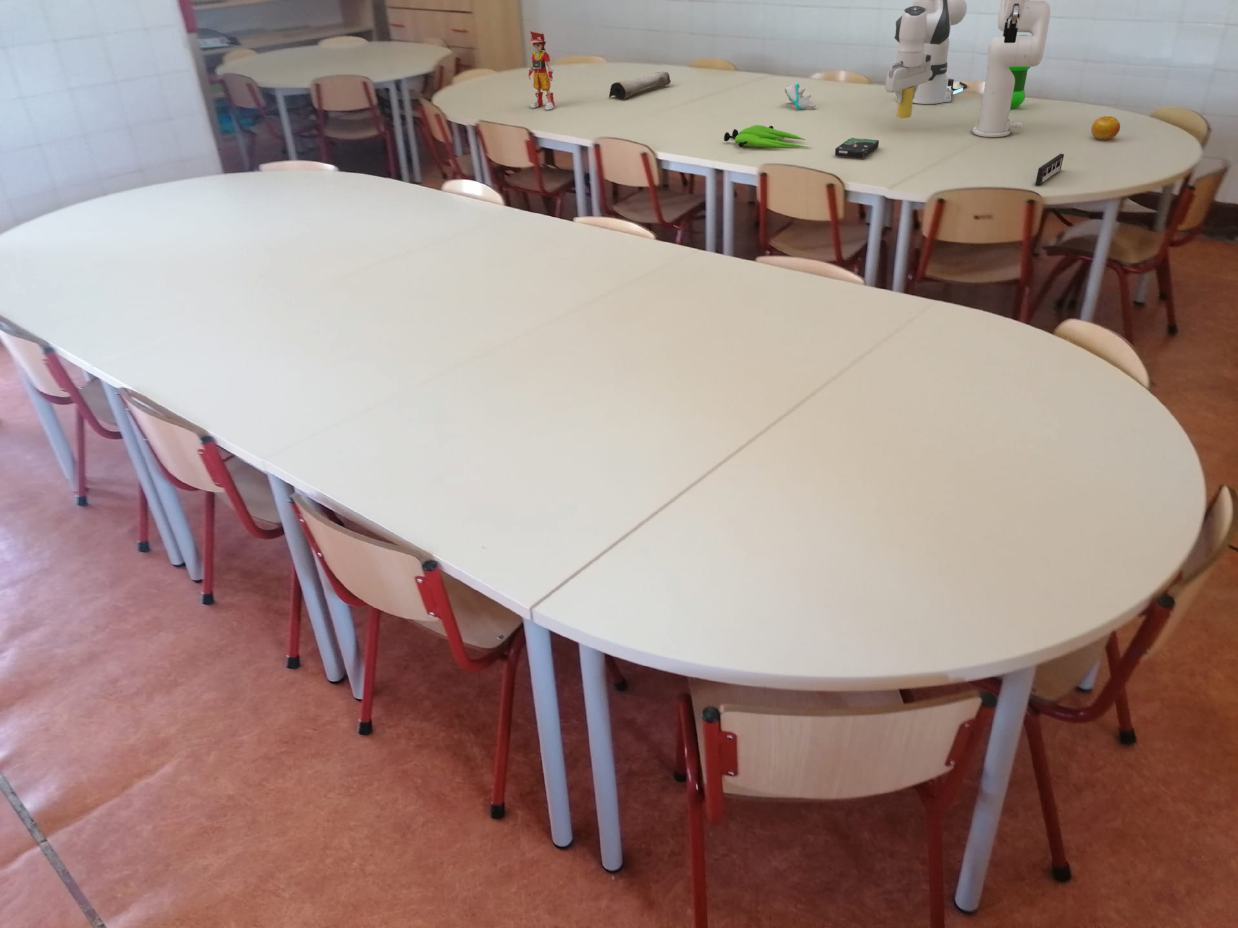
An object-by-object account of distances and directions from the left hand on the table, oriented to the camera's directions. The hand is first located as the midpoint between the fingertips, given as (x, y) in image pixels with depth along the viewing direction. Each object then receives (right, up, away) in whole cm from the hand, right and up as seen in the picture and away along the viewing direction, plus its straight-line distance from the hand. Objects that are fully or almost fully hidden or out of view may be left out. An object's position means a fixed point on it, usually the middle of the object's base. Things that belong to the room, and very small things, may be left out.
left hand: (905, 100), depth 320 cm
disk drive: (-21, -24, -14) cm, 35 cm away
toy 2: (-49, -15, 0) cm, 51 cm away
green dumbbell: (+48, +7, +24) cm, 54 cm away
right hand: (+16, -2, -49) cm, 52 cm away
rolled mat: (-93, +35, +77) cm, 125 cm away
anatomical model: (-30, +15, +42) cm, 54 cm away
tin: (0, -4, +3) cm, 5 cm away
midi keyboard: (+29, -42, -46) cm, 69 cm away
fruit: (+62, -19, -16) cm, 67 cm away
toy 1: (-135, +22, +63) cm, 151 cm away
